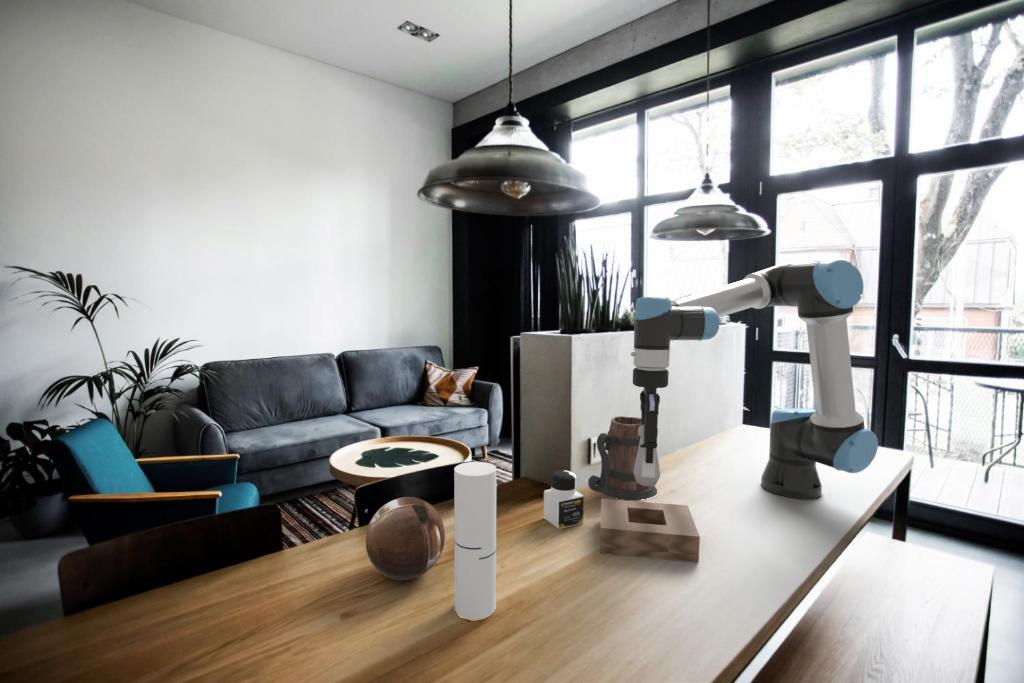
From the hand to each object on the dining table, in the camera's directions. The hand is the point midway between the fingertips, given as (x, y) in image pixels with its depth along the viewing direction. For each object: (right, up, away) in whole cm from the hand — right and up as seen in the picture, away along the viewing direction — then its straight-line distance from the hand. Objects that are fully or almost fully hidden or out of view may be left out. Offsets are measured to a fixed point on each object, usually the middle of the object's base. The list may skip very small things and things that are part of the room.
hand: (647, 471), depth 113 cm
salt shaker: (0, -3, 0) cm, 3 cm away
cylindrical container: (-36, -18, -24) cm, 47 cm away
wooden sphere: (-51, -17, -13) cm, 55 cm away
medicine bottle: (-18, -15, +11) cm, 25 cm away
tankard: (0, -14, +30) cm, 33 cm away
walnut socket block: (0, -16, +1) cm, 16 cm away
